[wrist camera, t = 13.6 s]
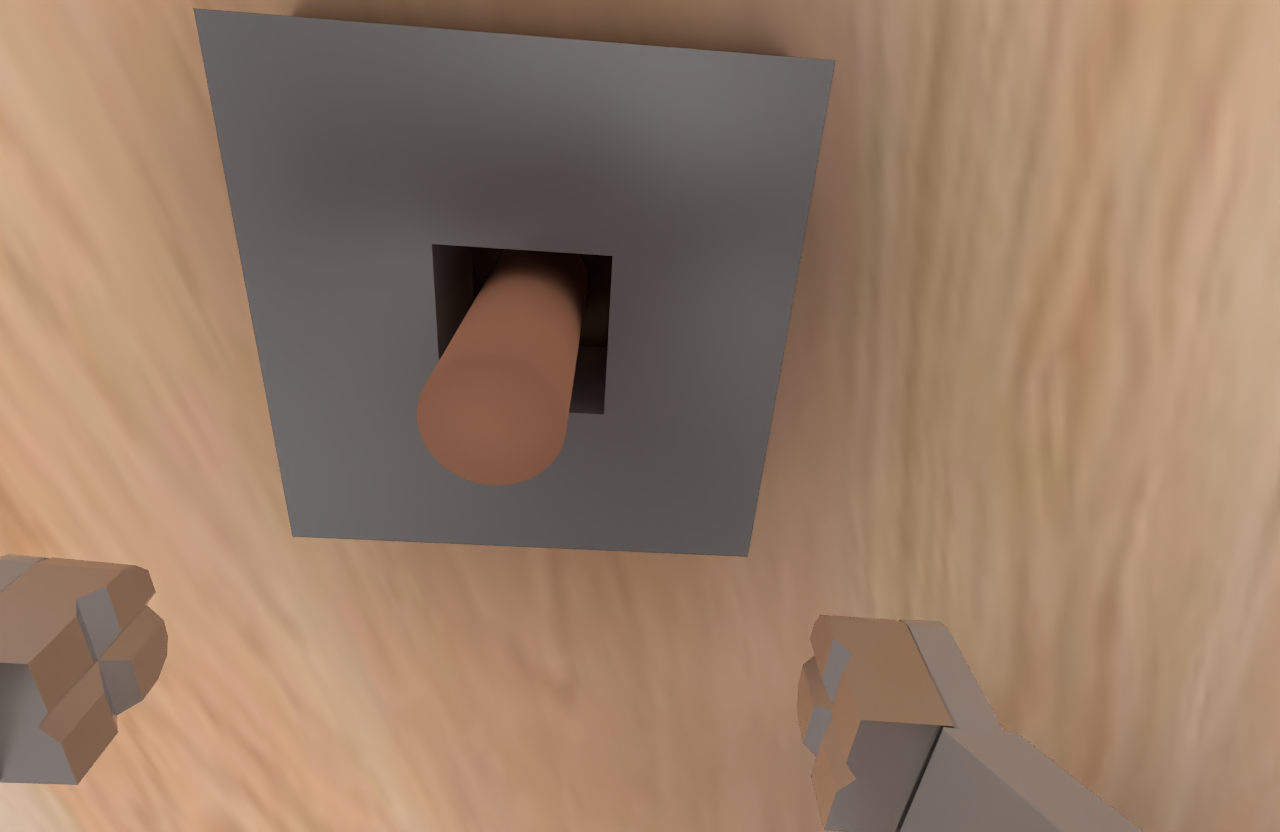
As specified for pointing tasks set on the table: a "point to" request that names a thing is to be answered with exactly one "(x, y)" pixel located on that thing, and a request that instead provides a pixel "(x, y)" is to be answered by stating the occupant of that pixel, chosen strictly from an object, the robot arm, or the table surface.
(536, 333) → the peg
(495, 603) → the table surface
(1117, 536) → the table surface
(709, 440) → the hole block
